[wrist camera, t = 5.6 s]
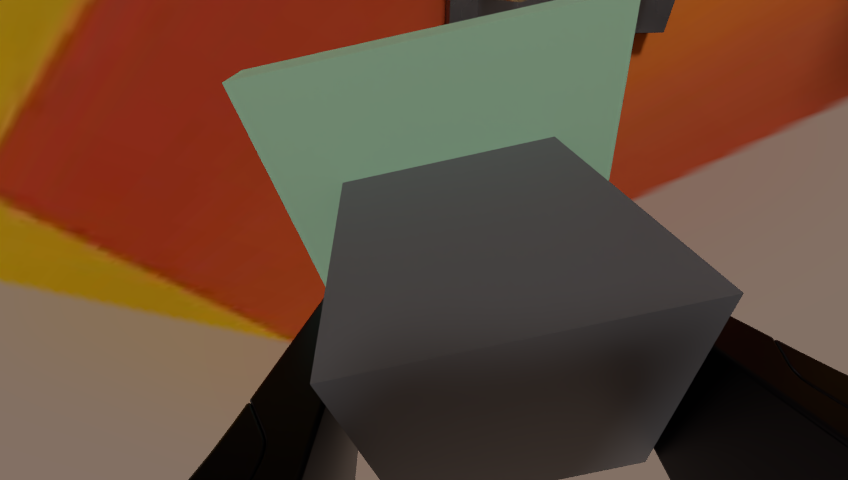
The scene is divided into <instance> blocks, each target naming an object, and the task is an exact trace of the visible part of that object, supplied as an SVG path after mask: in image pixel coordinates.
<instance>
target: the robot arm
mask: <svg viewBox="0 0 848 480" xmlns="http://www.w3.org/2000/svg"><path fill="white" fill-rule="evenodd" d="M323 300H324V298H323ZM323 300H322V301H321V303H320V304H319V305H318V307H317V308H316V309H315V311H314V312H313V314H312V315H311V316H310V318H309V319H308V320H307V322H306V323H305V325H304V326H303V327H302V329H301V330H300V332H299V333H298V334H297V336H296V337H295V338H294V340H293V341H292V343H291V344H290V345H289V347H288V348H287V350H286V351H285V352H284V354H283V355H282V357H281V358H280V359H279V361H278V362H277V363H276V365H275V366H274V368H273V369H272V370H271V372H270V373H269V375H268V376H267V377H266V379H265V380H264V381H263V383H262V384H261V386H260V387H259V388H258V390H257V391H256V392H255V394H254V395H253V397H252V398H251V399H250V402H251V404H250V403H248V404H246V406H245V408H244V409H243V410H242V412H241V413H240V414H239V416H238V417H237V418H236V420H235V421H234V423H233V424H232V425H231V426H230V428H229V429H228V430H227V432H226V433H225V434H224V436H223V437H222V438H221V440H220V441H219V442H218V444H217V445H216V446H215V448H214V449H213V450H212V451H211V453H210V454H209V455H208V457H207V458H206V459H205V460H204V461H203V463H202V464H201V465H200V466H199V467H198V469H197V470H196V471H195V472H194V473H193V475H192V476H191V477H190V478H189V480H355V474H356V464H357V454H358V449H357V448H356V446H355V445H354V444H353V442H352V441H351V440H350V438H349V437H348V435H347V434H346V433H345V431H344V430H343V429H342V427H341V426H340V425H339V423H338V422H337V420H336V419H335V418H334V416H333V415H332V414H331V412H330V411H329V410H328V408H327V407H326V405H325V404H324V403H323V401H322V400H321V399H320V397H319V396H318V395H317V393H316V392H315V390H314V389H313V388H312V386H311V385H310V380H311V374H312V368H313V362H314V356H315V349H316V343H317V337H318V331H319V325H320V319H321V313H322V306H323ZM654 450H655V451H656V453H657V455H658V457H659V459H660V461H661V463H662V465H663V467H664V469H665V470H666V472H667V474H668V476H669V478H670V480H848V375H846V374H844V373H841V372H839V371H837V370H835V369H833V368H831V367H829V366H827V365H825V364H823V363H821V362H819V361H817V360H815V359H813V358H811V357H809V356H807V355H805V354H803V353H801V352H799V351H797V350H795V349H793V348H792V347H790V346H788V345H786V344H784V343H782V342H780V341H778V340H774V339H773V338H772V337H770V336H768V335H766V334H764V333H762V332H760V331H758V330H756V329H754V328H753V327H751V326H749V325H747V324H745V323H743V322H740V321H739V320H737V319H735V318H733V317H731V316H730V317H729V319H728V321H727V322H726V324H725V326H724V328H723V329H722V331H721V333H720V335H719V336H718V338H717V340H716V341H715V343H714V345H713V347H712V348H711V350H710V352H709V353H708V355H707V357H706V359H705V360H704V362H703V364H702V365H701V367H700V369H699V371H698V372H697V374H696V376H695V377H694V379H693V381H692V383H691V384H690V386H689V388H688V389H687V391H686V393H685V395H684V396H683V398H682V400H681V401H680V403H679V405H678V407H677V408H676V410H675V412H674V413H673V415H672V417H671V419H670V420H669V422H668V424H667V425H666V427H665V429H664V431H663V432H662V434H661V436H660V437H659V439H658V441H657V443H656V444H655V446H654Z"/></svg>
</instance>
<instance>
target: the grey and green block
mask: <svg viewBox="0 0 848 480" xmlns="http://www.w3.org/2000/svg"><path fill="white" fill-rule="evenodd" d="M640 1H641V0H553V1H549V2H544V3H540V4H535V5H531V6H526V7H522V8H517V9H513V10H508V11H504V12H500V13H495V14H491V15H486V16H482V17H477V18H473V19H468V20H464V21H459V22H455V23H450V24H446V25H441V26H437V27H433V28H428V29H424V30H419V31H415V32H410V33H406V34H401V35H397V36H392V37H388V38H383V39H379V40H374V41H370V42H366V43H361V44H357V45H352V46H348V47H343V48H339V49H334V50H330V51H325V52H321V53H316V54H312V55H307V56H303V57H299V58H294V59H290V60H285V61H281V62H276V63H272V64H267V65H263V66H258V67H254V68H249V69H245V70H241V71H240V72H238V73H237V74H235V75H233V76H232V77H230V78H229V79H227V80H225V81H224V82H222V84H223V86H224V88H225V90H226V92H227V94H228V96H229V98H230V100H231V101H232V103H233V105H234V107H235V109H236V111H237V113H238V115H239V117H240V119H241V121H242V123H243V125H244V127H245V129H246V131H247V133H248V135H249V137H250V139H251V141H252V143H253V145H254V147H255V149H256V151H257V153H258V155H259V157H260V159H261V161H262V163H263V164H264V166H265V168H266V170H267V172H268V174H269V176H270V178H271V180H272V182H273V184H274V186H275V188H276V190H277V192H278V194H279V196H280V198H281V200H282V202H283V204H284V206H285V208H286V210H287V212H288V214H289V216H290V218H291V220H292V222H293V224H294V225H295V227H296V229H297V231H298V233H299V235H300V237H301V239H302V241H303V243H304V245H305V247H306V249H307V251H308V253H309V255H310V257H311V259H312V261H313V263H314V265H315V267H316V269H317V271H318V273H319V275H320V277H321V279H322V281H323V283H324V285H325V287H326V288H325V294H324V300H323V306H322V313H321V319H320V325H319V331H318V337H317V343H316V349H315V356H314V362H313V368H312V374H311V380H310V385H311V386H312V388H313V389H314V390H315V392H316V393H317V395H318V396H319V397H320V399H321V400H322V401H323V403H324V404H325V405H326V407H327V408H328V410H329V411H330V412H331V414H332V415H333V416H334V418H335V419H336V420H337V422H338V423H339V425H340V426H341V427H342V429H343V430H344V431H345V433H346V434H347V435H348V437H349V438H350V440H351V441H352V442H353V444H354V445H355V446H356V448H357V449H358V450H359V452H360V453H361V454H362V456H363V457H364V458H365V460H366V461H367V463H368V464H369V465H370V467H371V468H372V469H373V471H374V472H375V473H376V475H377V476H378V478H379V479H380V480H558V479H564V478H569V477H574V476H578V475H584V474H588V473H593V472H598V471H603V470H608V469H613V468H618V467H623V466H627V465H632V464H637V463H642V462H645V461H646V460H647V458H648V456H649V455H650V453H651V451H652V449H653V448H654V446H655V444H656V443H657V441H658V439H659V437H660V436H661V434H662V432H663V431H664V429H665V427H666V425H667V424H668V422H669V420H670V419H671V417H672V415H673V413H674V412H675V410H676V408H677V407H678V405H679V403H680V401H681V400H682V398H683V396H684V395H685V393H686V391H687V389H688V388H689V386H690V384H691V383H692V381H693V379H694V377H695V376H696V374H697V372H698V371H699V369H700V367H701V365H702V364H703V362H704V360H705V359H706V357H707V355H708V353H709V352H710V350H711V348H712V347H713V345H714V343H715V341H716V340H717V338H718V336H719V335H720V333H721V331H722V329H723V328H724V326H725V324H726V322H727V321H728V319H729V317H730V315H731V314H732V312H733V310H734V309H735V307H736V305H737V303H738V302H739V300H740V298H741V297H742V295H743V292H742V291H740V290H739V289H738V288H737V287H736V286H734V285H733V284H732V283H731V282H729V281H728V280H727V279H726V278H725V277H724V276H722V275H721V274H720V273H719V272H718V271H716V270H715V269H714V268H713V267H712V266H710V265H709V264H708V263H707V262H705V261H704V260H703V259H702V258H701V257H699V256H698V255H697V254H696V253H695V252H693V251H692V250H691V249H690V248H689V247H687V246H686V245H685V244H684V243H683V242H681V241H680V240H679V239H678V238H677V237H675V236H674V235H673V234H672V233H671V232H669V231H668V230H667V229H666V228H664V227H663V226H662V225H661V224H660V223H658V222H657V221H656V220H655V219H654V218H652V217H651V216H650V215H649V214H647V213H646V212H645V211H644V210H643V209H641V208H640V207H639V206H638V205H637V204H636V203H634V202H633V201H632V200H631V199H630V198H628V197H627V196H626V195H625V194H623V193H622V192H621V191H620V190H619V189H617V188H616V187H615V186H614V185H613V184H611V183H610V182H609V177H610V171H611V165H612V160H613V154H614V148H615V143H616V137H617V131H618V125H619V120H620V114H621V108H622V103H623V97H624V91H625V86H626V80H627V74H628V69H629V63H630V57H631V52H632V46H633V40H634V35H635V29H636V23H637V18H638V12H639V6H640Z"/></svg>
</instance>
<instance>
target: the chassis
mask: <svg viewBox="0 0 848 480" xmlns="http://www.w3.org/2000/svg"><path fill="white" fill-rule="evenodd" d="M549 1H553V0H446V7H445V25H446V24H450V23H455V22H459V21H464V20H468V19H473V18H477V17H482V16H486V15H491V14H495V13H500V12H504V11H508V10H513V9H517V8H522V7H526V6H531V5H535V4H540V3H544V2H549ZM674 1H675V0H641V1H640V6H639V12H638V18H637V23H636V29H635V33H656V32H664V30H665V27H666V24H667V21H668V18H669V16H670V13H671V10H672V7H673V4H674Z"/></svg>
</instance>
